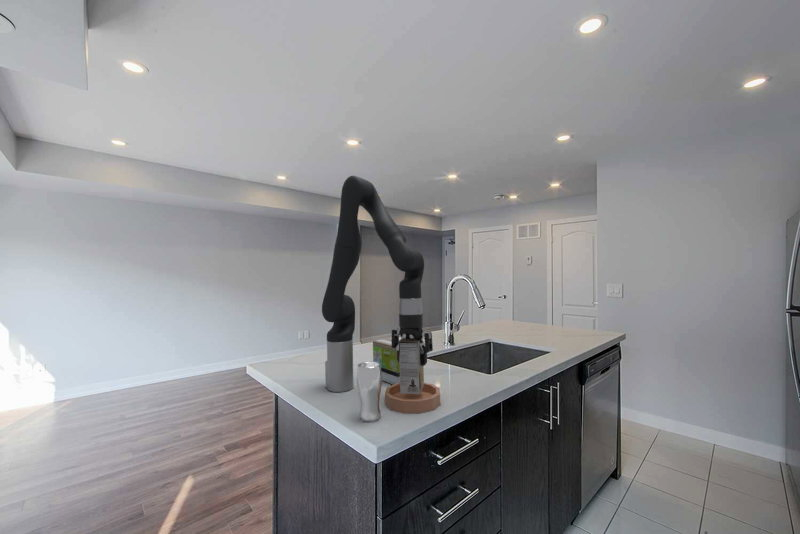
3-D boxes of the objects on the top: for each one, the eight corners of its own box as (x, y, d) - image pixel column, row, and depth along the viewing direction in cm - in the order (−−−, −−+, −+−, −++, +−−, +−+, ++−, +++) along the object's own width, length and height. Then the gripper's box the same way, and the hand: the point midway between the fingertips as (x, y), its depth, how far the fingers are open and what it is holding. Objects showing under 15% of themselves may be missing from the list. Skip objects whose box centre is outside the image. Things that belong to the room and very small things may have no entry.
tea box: (372, 378, 130) (371, 340, 130) (391, 372, 137) (391, 336, 137) (398, 387, 119) (397, 346, 119) (417, 380, 126) (417, 341, 126)
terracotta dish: (374, 405, 103) (374, 393, 103) (405, 388, 117) (405, 378, 117) (421, 418, 93) (421, 405, 93) (449, 398, 107) (449, 387, 107)
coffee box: (405, 384, 111) (404, 335, 111) (424, 384, 109) (423, 335, 110) (399, 394, 102) (398, 341, 102) (420, 395, 100) (419, 341, 101)
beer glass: (358, 413, 98) (357, 361, 98) (382, 411, 98) (381, 360, 99) (357, 423, 91) (356, 368, 91) (383, 422, 91) (381, 367, 92)
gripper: (385, 312, 107) (386, 363, 107) (423, 314, 99) (425, 369, 98) (399, 310, 113) (400, 358, 113) (436, 312, 105) (437, 363, 105)
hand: (411, 363), depth 106 cm, fingers closed on coffee box, 8 cm apart
